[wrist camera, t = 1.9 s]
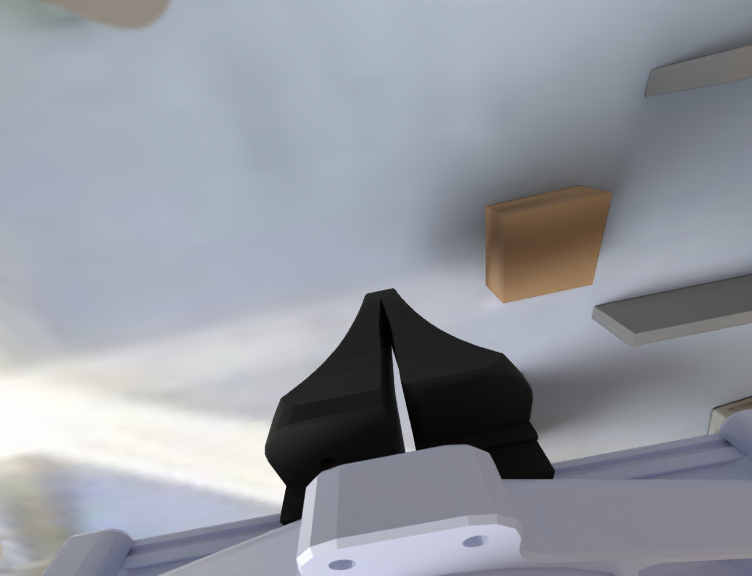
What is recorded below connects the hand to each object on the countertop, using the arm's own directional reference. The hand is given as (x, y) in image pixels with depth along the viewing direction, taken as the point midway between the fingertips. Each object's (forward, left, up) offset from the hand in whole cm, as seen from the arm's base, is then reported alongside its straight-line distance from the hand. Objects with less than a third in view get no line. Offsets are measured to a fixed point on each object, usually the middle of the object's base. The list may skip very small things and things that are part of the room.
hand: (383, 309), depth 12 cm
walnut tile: (0, -9, -5) cm, 10 cm away
